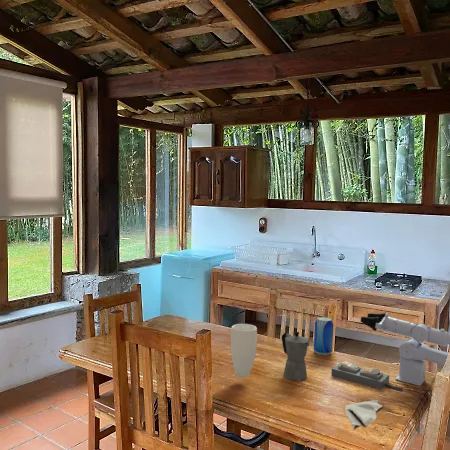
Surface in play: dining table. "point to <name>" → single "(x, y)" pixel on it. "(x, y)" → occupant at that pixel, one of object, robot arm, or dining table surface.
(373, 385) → the power strip
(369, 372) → the rocker inner
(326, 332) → the beer can
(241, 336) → the cup
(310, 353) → the dining table surface
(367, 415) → the cloth
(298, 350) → the coffeepot
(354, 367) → the rocker outer
